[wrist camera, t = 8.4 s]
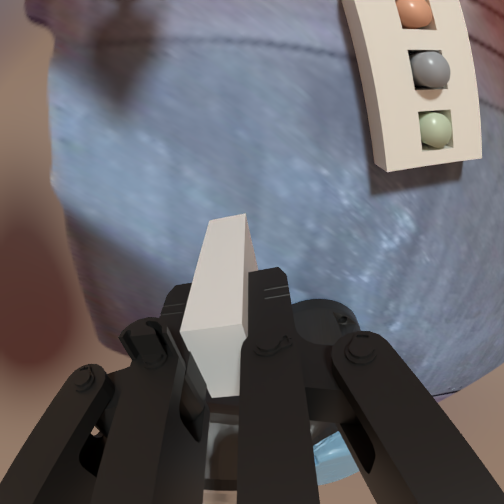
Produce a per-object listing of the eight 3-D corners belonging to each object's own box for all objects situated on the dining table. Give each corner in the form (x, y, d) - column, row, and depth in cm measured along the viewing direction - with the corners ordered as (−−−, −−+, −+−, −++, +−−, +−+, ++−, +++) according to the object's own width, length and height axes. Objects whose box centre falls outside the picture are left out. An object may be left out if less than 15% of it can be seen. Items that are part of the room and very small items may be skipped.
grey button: (434, 85, 29) (452, 87, 25) (406, 86, 29) (423, 88, 26) (428, 53, 27) (446, 52, 23) (400, 53, 27) (416, 51, 24)
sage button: (435, 139, 33) (452, 146, 29) (409, 142, 33) (425, 149, 30) (432, 108, 31) (450, 112, 28) (405, 110, 32) (421, 114, 28)
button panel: (464, 150, 34) (481, 158, 30) (374, 163, 35) (387, 172, 32) (438, -8, 23) (454, -14, 20) (337, -13, 25) (347, -23, 21)
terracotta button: (418, 31, 26) (435, 27, 23) (390, 30, 27) (405, 26, 23) (411, 2, 25) (426, -5, 21) (382, 0, 25) (396, -7, 21)
